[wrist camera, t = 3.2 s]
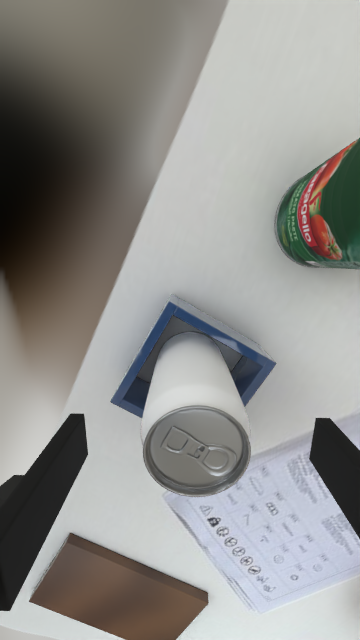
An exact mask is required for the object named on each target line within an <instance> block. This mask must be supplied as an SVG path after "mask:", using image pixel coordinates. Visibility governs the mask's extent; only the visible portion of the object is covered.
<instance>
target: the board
mask: <svg viewBox="0 0 360 640" xmlns="http://www.w3.org/2000/svg"><path fill="white" fill-rule="evenodd" d="M29 602H31V603H34V604H37V605H39V606H42V607H44V608H47V609H49V610H52V611H54V612H57V613H60V614H62V615H65V616H67V617H70V618H72V619H75V620H77V621H80V622H82V623H85V624H88V625H90V626H93V627H95V628H98V629H100V630H103V631H105V632H108V633H110V634H113V635H116V636H118V637H121V638H123V639H126V640H176V639H177V638H178V637H179V635H180V634H181V633H182V632H183V631H184V630H185V629H186V628H187V627H188V625H189V624H190V623H191V622H192V621H193V620H194V619H195V618H196V616H197V615H198V614H199V613H200V612H201V611H202V610H203V609H204V608H205V606H206V605H207V604H208V603H209V602H208V593H207V592H204V591H202V590H200V589H197V588H195V587H193V586H190V585H188V584H186V583H184V582H181V581H179V580H177V579H174V578H172V577H170V576H167V575H165V574H163V573H161V572H158V571H156V570H154V569H151V568H149V567H147V566H144V565H142V564H140V563H138V562H135V561H133V560H131V559H128V558H126V557H124V556H121V555H119V554H117V553H115V552H112V551H110V550H108V549H105V548H103V547H101V546H98V545H96V544H94V543H92V542H89V541H87V540H85V539H82V538H80V537H78V536H75V535H73V534H71V533H70V534H69V536H68V537H67V539H66V540H65V542H64V544H63V545H62V547H61V548H60V550H59V552H58V553H57V555H56V556H55V558H54V560H53V561H52V563H51V564H50V566H49V567H48V569H47V571H46V572H45V574H44V575H43V577H42V579H41V580H40V582H39V583H38V585H37V587H36V588H35V590H34V591H33V593H32V595H31V598H30V600H29Z"/></svg>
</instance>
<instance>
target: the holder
mask: <svg viewBox="0 0 360 640" xmlns="http://www.w3.org/2000/svg"><path fill="white" fill-rule="evenodd" d="M172 315H174V316H176V317H177V318H179V319H181V320H183V321H184V322H186V323H188V324H190V325H191V326H193V327H195V328H197V329H198V330H200V331H202V332H204V333H205V334H207V335H209V336H210V337H212V338H214V339H216V340H217V341H219V342H221V343H223V344H224V345H226V346H228V347H230V348H231V349H233V350H235V351H237V352H238V353H240V354H242V355H243V356H242V358H241V359H240V361H239V362H238V363H237V365H236V366H235V368H234V369H233V371H232V372H231V373H230V374H231V376H232V379H233V381H234V383H235V386H236V388H237V391H238V393H239V395H240V398H241V400H242V403H243V405H244V407H245V406H246V404H247V403H248V402H249V400H250V399H251V398H252V396H253V395H254V394H255V392H256V391H257V389H258V388H259V387H260V385H261V384H262V383H263V381H264V380H265V379H266V377H267V376H268V375H269V373H270V372H271V370H272V369H273V368H274V366H275V365H276V362H275V361H274V360H273V359H272V358H271V357H270V356H269V355H268V354H267V353H266V351H265V350H264V349H263V348H262V347H261V346H260V345H259V344H257V343H256V342H254V341H252V340H250V339H249V338H247V337H245V336H244V335H242V334H240V333H238V332H237V331H235V330H233V329H232V328H230V327H228V326H226V325H225V324H223V323H221V322H220V321H218V320H216V319H214V318H213V317H211V316H209V315H208V314H206V313H204V312H203V311H201V310H199V309H197V308H196V307H194V306H192V305H191V304H189V303H187V302H185V301H184V300H182V299H180V298H178V297H177V296H175V295H173V294H171V295H170V297H169V299H168V300H167V302H166V304H165V305H164V307H163V309H162V311H161V312H160V314H159V316H158V317H157V319H156V321H155V323H154V324H153V326H152V328H151V330H150V331H149V333H148V335H147V336H146V338H145V340H144V342H143V343H142V345H141V347H140V349H139V350H138V352H137V354H136V355H135V357H134V359H133V361H132V362H131V364H130V366H129V367H128V369H127V371H126V373H125V374H124V376H123V378H122V380H121V382H120V384H119V386H118V388H117V389H116V391H115V393H114V395H113V397H112V399H111V401H110V402H111V403H113V404H115V405H117V406H119V407H121V408H123V409H125V410H127V411H129V412H131V413H133V414H135V415H137V416H139V417H141V418H142V417H143V412H144V408H145V404H146V400H147V396H148V392H149V388H150V384H149V383H148V382H146V381H144V380H142V379H140V378H138V377H136V376H137V374H138V373H139V371H140V369H141V367H142V366H143V364H144V362H145V361H146V359H147V357H148V356H149V354H150V352H151V351H152V349H153V347H154V346H155V344H156V342H157V341H158V339H159V337H160V335H161V334H162V332H163V330H164V329H165V327H166V325H167V324H168V322H169V320H170V319H171V317H172Z"/></svg>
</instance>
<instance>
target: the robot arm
mask: <svg viewBox="0 0 360 640" xmlns="http://www.w3.org/2000/svg"><path fill="white" fill-rule="evenodd" d="M87 455H88V449H87V439H86V429H85V419H84V414H70V415H69V417H68V418H67V419H66V421H65V422H64V423H63V425H62V426H61V427H60V429H59V430H58V431H57V433H56V434H55V435H54V437H53V438H52V439H51V441H50V442H49V443H48V445H47V446H46V447H45V449H44V450H43V451H42V453H41V454H40V455H39V457H38V458H37V459H36V461H35V462H34V463H33V465H32V466H31V468H30V469H29V470H28V471H27V473H26V474H25V475H14V476H12V477H11V478H10V479H9V480H7V481H6V482H5V483H4V484H3V485H1V486H0V611H10V610H11V608H12V606H13V604H14V602H15V600H16V598H17V596H18V594H19V592H20V590H21V588H22V586H23V584H24V582H25V580H26V578H27V576H28V574H29V572H30V570H31V568H32V566H33V564H34V562H35V560H36V558H37V556H38V553H39V551H40V549H41V547H42V545H43V543H44V541H45V539H46V537H47V535H48V533H49V531H50V529H51V527H52V525H53V523H54V521H55V519H56V517H57V515H58V513H59V511H60V509H61V507H62V505H63V503H64V501H65V499H66V497H67V495H68V493H69V491H70V489H71V487H72V485H73V483H74V481H75V479H76V477H77V475H78V473H79V471H80V469H81V467H82V465H83V463H84V461H85V459H86V457H87ZM309 459H310V461H311V462H312V464H313V466H314V467H315V469H316V470H317V472H318V473H319V475H320V477H321V478H322V480H323V481H324V483H325V485H326V486H327V488H328V489H329V491H330V492H331V494H332V496H333V497H334V499H335V500H336V502H337V504H338V505H339V507H340V508H341V510H342V512H343V513H344V515H345V516H346V518H347V519H348V521H349V523H350V524H351V526H352V527H353V529H354V531H355V532H356V534H357V535H358V537H359V538H360V450H359V449H358V448H357V447H356V446H355V445H354V444H353V443H352V442H351V441H350V440H349V439H348V437H347V436H346V435H345V434H344V433H343V432H342V431H341V430H340V429H339V428H338V427H337V426H336V424H335V423H334V422H333V421H332V420H331V419H330V418H316V421H315V427H314V433H313V439H312V445H311V452H310V458H309Z"/></svg>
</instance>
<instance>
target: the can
mask: <svg viewBox="0 0 360 640" xmlns="http://www.w3.org/2000/svg"><path fill="white" fill-rule="evenodd" d="M249 439H250V424H249V419H248V416H247V413H246V410H245V407H244V405H243V403H242V400H241V398H240V395H239V393H238V391H237V388H236V386H235V383H234V381H233V379H232V376H231V374H230V372H229V369H228V367H227V365H226V362H225V360H224V358H223V356H222V353H221V351H220V349H219V348H218V346H217V345H216V343H215V342H214V341H213V340H212V339H210V338H209V337H207V336H205V335H203V334H200V333H196V332H184V333H180V334H177V335H175V336H173V337H172V338H170V339H169V340H168V341H167V342H166V343H165V344H164V345H163V346H162V348H161V350H160V352H159V355H158V358H157V362H156V365H155V369H154V373H153V377H152V380H151V384H150V388H149V392H148V396H147V400H146V404H145V408H144V412H143V417H142V422H141V440H142V444H143V457H144V462H145V465H146V468H147V470H148V472H149V473H150V475H151V476H152V477H153V479H154V480H155V481H156V482H157V483H158V484H160V485H161V486H162V487H164V488H165V489H167V490H169V491H171V492H173V493H176V494H179V495H183V496H189V497H204V496H210V495H214V494H217V493H220V492H222V491H224V490H226V489H228V488H229V487H231V486H232V485H234V484H235V483H236V482H237V481H238V480H239V479H240V478H241V477H242V475H243V474H244V472H245V471H246V469H247V467H248V464H249V461H250V455H251V447H250V442H249Z"/></svg>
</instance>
